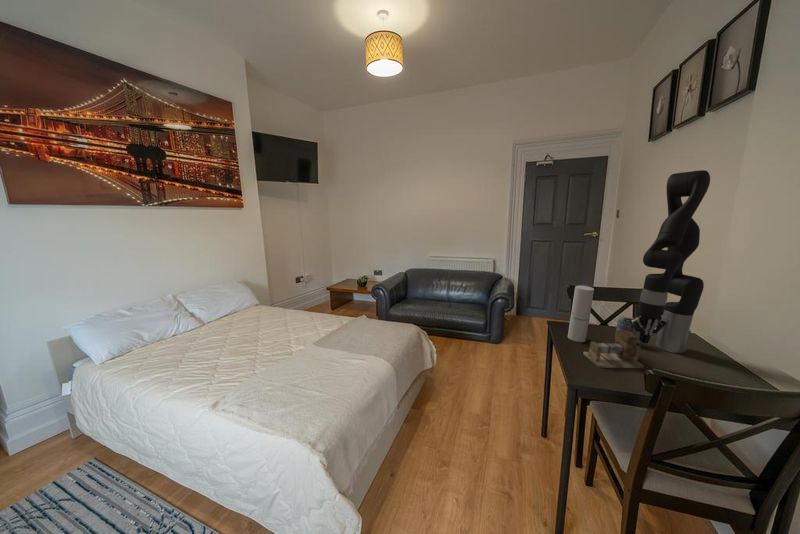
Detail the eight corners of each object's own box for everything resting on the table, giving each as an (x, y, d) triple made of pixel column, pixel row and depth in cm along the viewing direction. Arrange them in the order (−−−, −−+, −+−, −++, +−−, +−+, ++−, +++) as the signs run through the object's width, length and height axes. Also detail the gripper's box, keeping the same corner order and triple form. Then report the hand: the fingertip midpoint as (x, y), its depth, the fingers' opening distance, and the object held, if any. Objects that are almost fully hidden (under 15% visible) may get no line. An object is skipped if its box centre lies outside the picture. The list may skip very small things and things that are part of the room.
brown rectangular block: (621, 351, 116) (625, 330, 114) (632, 359, 110) (637, 337, 108) (612, 351, 116) (616, 330, 114) (623, 359, 110) (628, 337, 108)
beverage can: (616, 343, 128) (621, 318, 125) (611, 336, 134) (616, 313, 132) (633, 346, 125) (639, 321, 123) (627, 338, 132) (632, 315, 129)
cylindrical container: (580, 335, 135) (588, 285, 129) (588, 342, 128) (597, 290, 123) (564, 334, 136) (572, 285, 130) (572, 341, 129) (580, 289, 123)
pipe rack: (623, 354, 118) (626, 338, 117) (643, 368, 108) (647, 351, 107) (583, 353, 118) (585, 338, 117) (599, 367, 109) (602, 350, 107)
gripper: (661, 298, 111) (652, 338, 115) (627, 297, 111) (619, 337, 115) (679, 304, 104) (669, 347, 108) (643, 304, 104) (634, 346, 108)
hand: (643, 342), depth 111 cm, fingers closed
